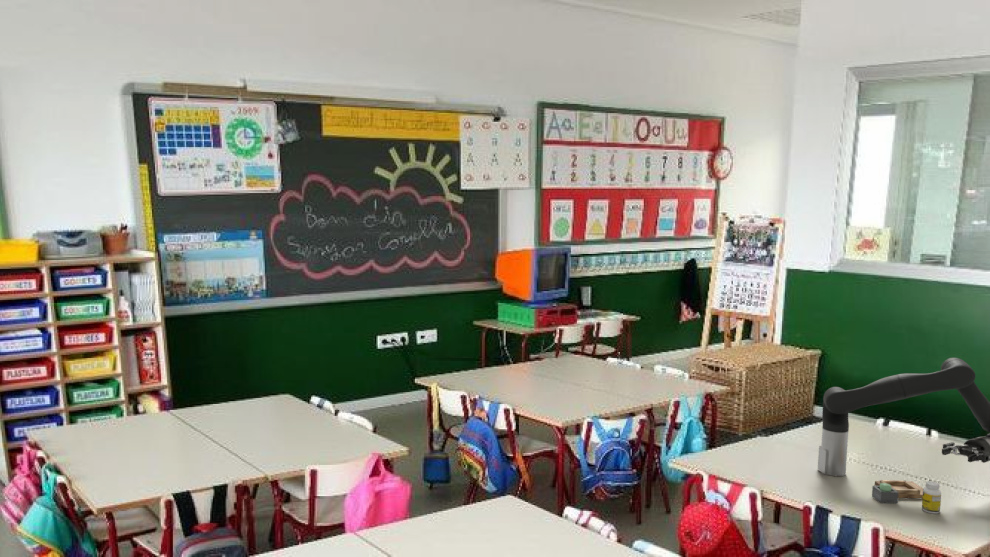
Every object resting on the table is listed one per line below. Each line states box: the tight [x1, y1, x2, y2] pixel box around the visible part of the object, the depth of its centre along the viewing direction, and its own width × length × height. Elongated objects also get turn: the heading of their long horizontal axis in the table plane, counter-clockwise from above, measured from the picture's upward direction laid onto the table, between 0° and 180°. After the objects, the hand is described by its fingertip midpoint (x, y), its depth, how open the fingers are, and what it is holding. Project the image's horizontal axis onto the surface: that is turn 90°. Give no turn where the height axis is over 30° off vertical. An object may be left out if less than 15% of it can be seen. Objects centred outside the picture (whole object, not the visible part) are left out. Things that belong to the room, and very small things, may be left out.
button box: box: [871, 485, 899, 504], centre depth 262 cm, size 6×6×4 cm
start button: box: [880, 483, 891, 491], centre depth 262 cm, size 4×4×3 cm
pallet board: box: [874, 479, 924, 498], centre depth 270 cm, size 14×13×3 cm
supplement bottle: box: [921, 480, 942, 515], centre depth 253 cm, size 5×5×10 cm
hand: (955, 455), depth 257 cm, fingers open, 8 cm apart
